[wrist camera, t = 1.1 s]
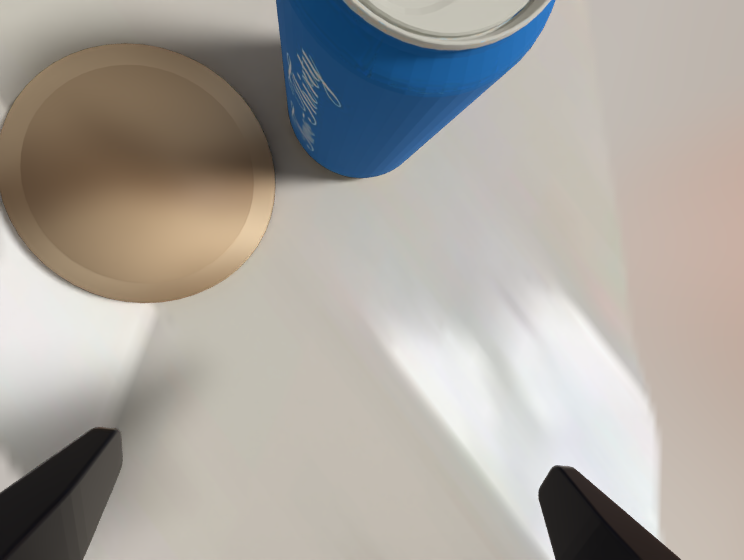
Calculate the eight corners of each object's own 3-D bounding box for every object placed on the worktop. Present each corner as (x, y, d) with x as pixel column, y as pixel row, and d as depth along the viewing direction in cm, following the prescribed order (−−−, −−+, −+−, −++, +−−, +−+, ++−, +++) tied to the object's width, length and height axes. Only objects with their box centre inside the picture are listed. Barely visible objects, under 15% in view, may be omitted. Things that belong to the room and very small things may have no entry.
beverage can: (259, 93, 18) (174, -206, 6) (368, 15, 18) (483, -396, 7) (345, 207, 19) (412, 139, 7) (445, 130, 20) (661, -50, 8)
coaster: (309, 252, 19) (309, 252, 18) (76, 337, 17) (67, 340, 17) (221, 21, 17) (217, 11, 17) (-42, 92, 16) (-58, 85, 15)
